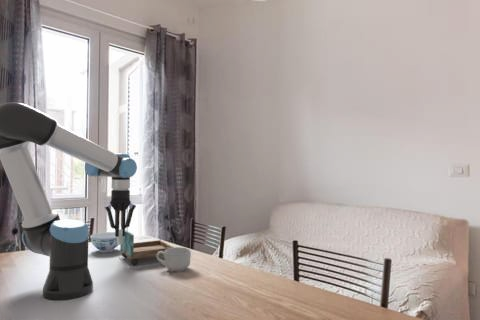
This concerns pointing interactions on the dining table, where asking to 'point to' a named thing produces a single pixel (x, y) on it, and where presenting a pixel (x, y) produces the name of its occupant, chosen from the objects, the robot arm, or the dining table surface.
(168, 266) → the teacup
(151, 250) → the cart
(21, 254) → the dining table surface
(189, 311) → the dining table surface
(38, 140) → the robot arm
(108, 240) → the chinaware
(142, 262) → the track mat
